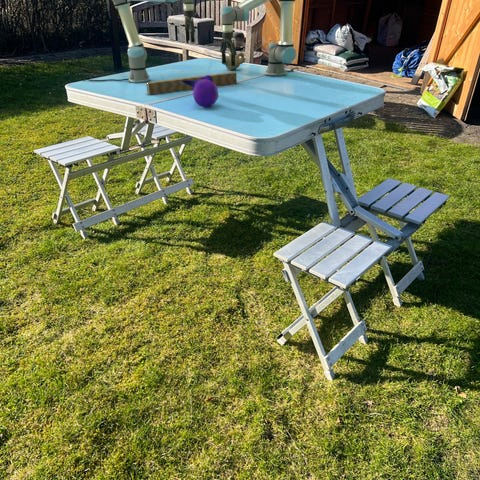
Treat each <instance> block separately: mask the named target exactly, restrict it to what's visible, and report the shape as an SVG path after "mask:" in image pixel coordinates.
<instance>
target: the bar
mask: <svg viewBox="0 0 480 480" xmlns="http://www.w3.org/2000/svg"><path fill="white" fill-rule="evenodd" d="M207 75H209V76H211V77H212V82H213V83H214V84H215V85H216V87H222V86H229V85H237V83H238V82H237V72H235V71H229V72H221V73H211V74H205V75H197V76H196V75H195V76H188V77H187V76H186V77H178V78H172V79H171V78H170V79H164V80H163V79H162V80H153V81H148V82H145V85H146V95H149V96H154V95H161V94H162V95H163V94H169V93H170V94H171V93H177V92H184V91H192V90H194V88H193V87H191V86H189V85H187V84H186V83H184V82H182V80H194V81H200V80H201V77H204V76H207Z"/></svg>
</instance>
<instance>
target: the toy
mask: <svg viewBox="0 0 480 480" xmlns="http://www.w3.org/2000/svg"><path fill="white" fill-rule="evenodd" d="M206 75H207V76H204V77H201V80H200V81H194V80H182V82H184V83H186V84H187V85H189V86H191V87H193V88H194V89H193V91H192V95H193V100H194V102H195V104H196V105H198V106H199V107H202V108H210V107H212V106H213V105H215V104H216V102H217V101H218V99H219V90H218V86H216V85H215V84H214V83H213V82H212V77H211V76H209V75H210V74H206Z"/></svg>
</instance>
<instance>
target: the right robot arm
mask: <svg viewBox="0 0 480 480" xmlns="http://www.w3.org/2000/svg"><path fill="white" fill-rule="evenodd" d="M269 1H271V2H272V1H273V0H244V1H242V2H240V3H238V4H237V5H235V6H230V5H229V6H228V5H227V6H226V5H225V6H222V7H221V13H220V14H221V31H222V32H221V35H222V37H221V44H220V48H219V52H220V53H221V61H222V63H221V64H222V65H224V64H223V63H226V57H227V56H226V53H227V52H226V51H227V48H228V49H229V52H230V53H231V66H235V56H236V55H237V54H238V53H237V49H236V45H235V40H234V39H233V38H234V22H248V21H249V19H250V15H251V14H250V12H252V11H253V10H254V9H257V8H258V7H260V6H262V5H264V4H265V3H267V2H269ZM295 2H296V0H278V3H279V4H280V21H279V23H280V26H279V27H280V28H279V29H280V31H279V41H278V42H273V43H269V44H268V63H267V68H266V70H265V75H266V76H268V77H284V76H286V72H287V73H289V72H291V73H292V72H294V71H295V70H296V69H297V70H300V68H299V67H293V68H290V70H289V69H288V70H286V69H285V64H291V63H293V62H294V61H295V59H296V58H297V51H296V49H295V45H294V42H293V18H294V17H293V16H294V4H295Z"/></svg>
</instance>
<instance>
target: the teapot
mask: <svg viewBox="0 0 480 480" xmlns="http://www.w3.org/2000/svg"><path fill="white" fill-rule="evenodd" d="M239 58H240V59H239ZM244 63H245V54H244V52H242V51H240V52H239V53H237V55H235V66H231V52H230V53H229V54H228V56H226V63H223V64H222V60H221V64H222V65H224V66H225V68H226V69H227V70H228V71H235V70H237V69H239V67H240V66H241V65H243V64H244Z"/></svg>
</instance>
